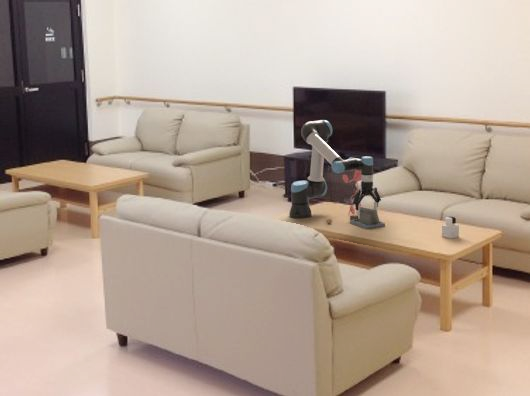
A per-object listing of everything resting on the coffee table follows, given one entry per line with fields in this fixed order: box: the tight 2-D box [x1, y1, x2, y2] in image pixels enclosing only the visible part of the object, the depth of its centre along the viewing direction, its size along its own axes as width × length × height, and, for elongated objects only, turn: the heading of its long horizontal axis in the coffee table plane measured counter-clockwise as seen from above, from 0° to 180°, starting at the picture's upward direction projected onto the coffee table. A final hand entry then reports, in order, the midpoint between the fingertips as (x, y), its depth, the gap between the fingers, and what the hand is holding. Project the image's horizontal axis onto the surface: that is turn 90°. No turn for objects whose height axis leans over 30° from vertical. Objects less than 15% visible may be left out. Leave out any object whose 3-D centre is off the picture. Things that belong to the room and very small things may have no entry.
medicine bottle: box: [441, 216, 460, 240], centre depth 467 cm, size 7×7×12 cm
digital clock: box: [359, 206, 381, 226], centre depth 503 cm, size 16×9×11 cm, turn 29°
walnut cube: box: [349, 213, 359, 221], centre depth 515 cm, size 4×4×4 cm
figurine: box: [342, 170, 363, 215], centre depth 530 cm, size 15×26×35 cm, turn 135°
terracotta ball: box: [325, 217, 333, 225], centre depth 511 cm, size 4×4×4 cm
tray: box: [349, 219, 386, 230], centre depth 504 cm, size 13×19×2 cm
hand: (366, 213), depth 503 cm, fingers open, 13 cm apart
